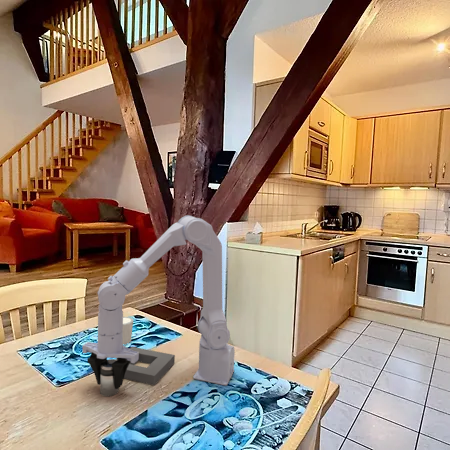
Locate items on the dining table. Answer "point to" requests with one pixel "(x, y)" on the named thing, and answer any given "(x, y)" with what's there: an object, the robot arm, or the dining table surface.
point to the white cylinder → (127, 329)
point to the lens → (107, 378)
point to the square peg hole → (154, 371)
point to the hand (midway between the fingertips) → (109, 384)
